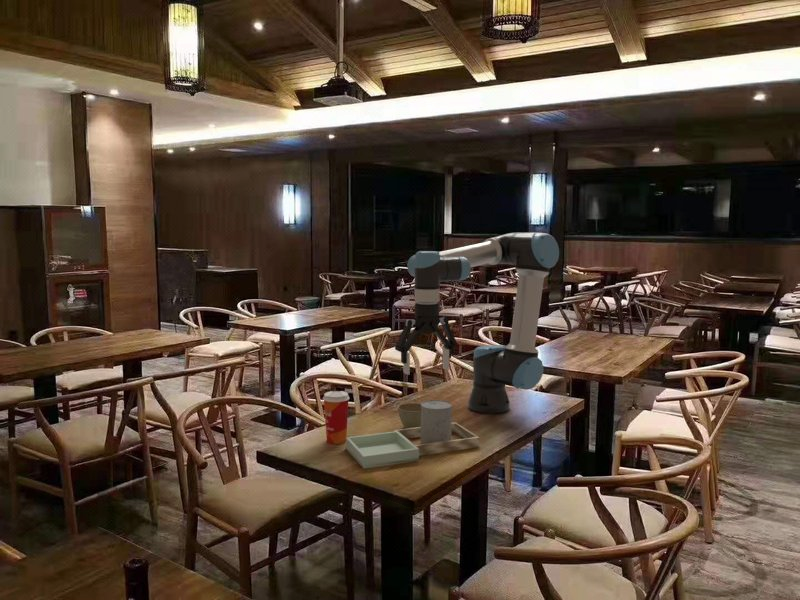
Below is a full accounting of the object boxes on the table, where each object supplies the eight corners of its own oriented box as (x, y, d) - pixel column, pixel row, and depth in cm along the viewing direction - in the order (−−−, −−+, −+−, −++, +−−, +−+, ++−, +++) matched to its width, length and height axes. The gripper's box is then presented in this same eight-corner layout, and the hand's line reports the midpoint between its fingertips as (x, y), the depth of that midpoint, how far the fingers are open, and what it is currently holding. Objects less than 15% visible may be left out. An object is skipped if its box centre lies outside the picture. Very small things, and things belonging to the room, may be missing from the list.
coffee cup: (323, 436, 200) (323, 390, 198) (349, 436, 200) (349, 390, 199) (322, 446, 191) (322, 397, 190) (349, 445, 192) (349, 397, 190)
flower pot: (425, 433, 203) (425, 412, 202) (394, 431, 205) (394, 410, 204) (430, 424, 213) (430, 403, 212) (400, 422, 215) (401, 401, 214)
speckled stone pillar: (454, 440, 197) (455, 401, 196) (447, 450, 188) (447, 410, 187) (425, 436, 200) (425, 398, 199) (416, 446, 191) (416, 407, 190)
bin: (397, 441, 195) (397, 431, 195) (418, 460, 180) (418, 448, 180) (345, 448, 189) (345, 437, 189) (363, 468, 174) (363, 456, 173)
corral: (455, 431, 206) (456, 422, 205) (479, 447, 191) (479, 437, 191) (394, 439, 198) (394, 430, 197) (413, 456, 183) (413, 446, 183)
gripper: (456, 299, 199) (455, 364, 202) (384, 303, 188) (384, 372, 191) (468, 301, 192) (467, 369, 195) (395, 306, 181) (394, 378, 184)
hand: (426, 371), depth 193 cm, fingers open, 13 cm apart
